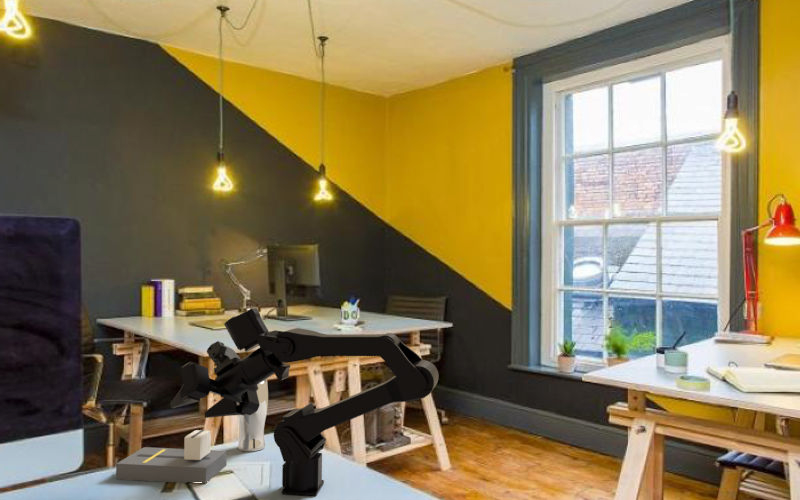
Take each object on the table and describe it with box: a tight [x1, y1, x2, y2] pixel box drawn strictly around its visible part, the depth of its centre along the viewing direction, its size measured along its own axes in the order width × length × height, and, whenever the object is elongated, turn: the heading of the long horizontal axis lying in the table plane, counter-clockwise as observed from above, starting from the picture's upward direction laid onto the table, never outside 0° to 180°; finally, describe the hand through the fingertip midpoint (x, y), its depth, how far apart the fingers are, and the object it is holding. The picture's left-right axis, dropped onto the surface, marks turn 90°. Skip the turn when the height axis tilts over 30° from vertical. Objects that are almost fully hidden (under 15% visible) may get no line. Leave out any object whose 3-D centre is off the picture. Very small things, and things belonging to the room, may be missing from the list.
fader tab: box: [183, 429, 212, 460], centre depth 116 cm, size 3×5×4 cm, turn 174°
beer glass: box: [237, 379, 269, 453], centre depth 132 cm, size 7×7×15 cm
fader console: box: [115, 446, 228, 484], centre depth 116 cm, size 18×10×3 cm, turn 84°
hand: (188, 410), depth 114 cm, fingers open, 9 cm apart
